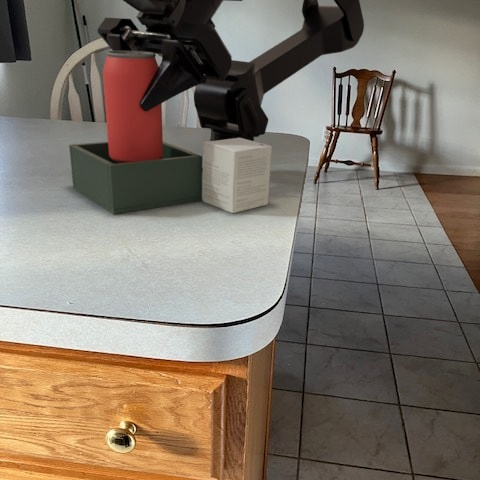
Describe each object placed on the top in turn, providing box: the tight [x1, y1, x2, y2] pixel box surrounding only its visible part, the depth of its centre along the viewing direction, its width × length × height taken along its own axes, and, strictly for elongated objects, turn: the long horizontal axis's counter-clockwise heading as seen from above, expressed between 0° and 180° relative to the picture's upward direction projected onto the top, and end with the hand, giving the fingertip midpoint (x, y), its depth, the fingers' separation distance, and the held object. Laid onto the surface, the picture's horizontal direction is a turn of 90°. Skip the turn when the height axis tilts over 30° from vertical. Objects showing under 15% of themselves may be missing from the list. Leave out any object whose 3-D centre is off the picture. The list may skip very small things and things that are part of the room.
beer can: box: [102, 50, 164, 163], centre depth 64 cm, size 7×7×12 cm
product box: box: [201, 138, 273, 214], centre depth 66 cm, size 6×6×7 cm
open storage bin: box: [68, 141, 203, 215], centre depth 68 cm, size 12×12×6 cm
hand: (124, 104), depth 63 cm, fingers closed on beer can, 6 cm apart
